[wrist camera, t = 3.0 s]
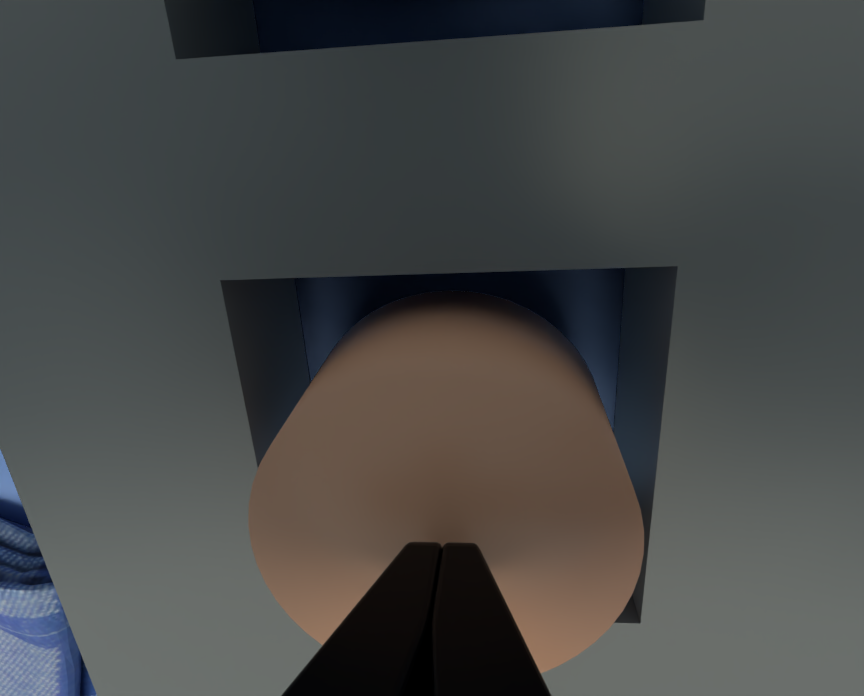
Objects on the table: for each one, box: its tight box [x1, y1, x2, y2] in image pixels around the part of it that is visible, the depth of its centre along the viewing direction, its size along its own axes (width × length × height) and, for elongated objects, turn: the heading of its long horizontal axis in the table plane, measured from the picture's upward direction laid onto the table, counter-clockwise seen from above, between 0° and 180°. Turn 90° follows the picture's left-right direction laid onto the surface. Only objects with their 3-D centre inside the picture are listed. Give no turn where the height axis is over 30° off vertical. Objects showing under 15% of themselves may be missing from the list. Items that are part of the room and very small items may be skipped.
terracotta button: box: [248, 290, 644, 673], centre depth 9 cm, size 5×5×3 cm
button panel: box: [0, 0, 864, 696], centre depth 10 cm, size 15×28×3 cm, turn 3°
